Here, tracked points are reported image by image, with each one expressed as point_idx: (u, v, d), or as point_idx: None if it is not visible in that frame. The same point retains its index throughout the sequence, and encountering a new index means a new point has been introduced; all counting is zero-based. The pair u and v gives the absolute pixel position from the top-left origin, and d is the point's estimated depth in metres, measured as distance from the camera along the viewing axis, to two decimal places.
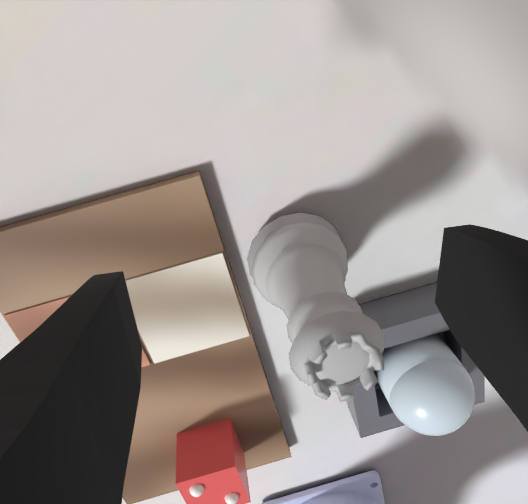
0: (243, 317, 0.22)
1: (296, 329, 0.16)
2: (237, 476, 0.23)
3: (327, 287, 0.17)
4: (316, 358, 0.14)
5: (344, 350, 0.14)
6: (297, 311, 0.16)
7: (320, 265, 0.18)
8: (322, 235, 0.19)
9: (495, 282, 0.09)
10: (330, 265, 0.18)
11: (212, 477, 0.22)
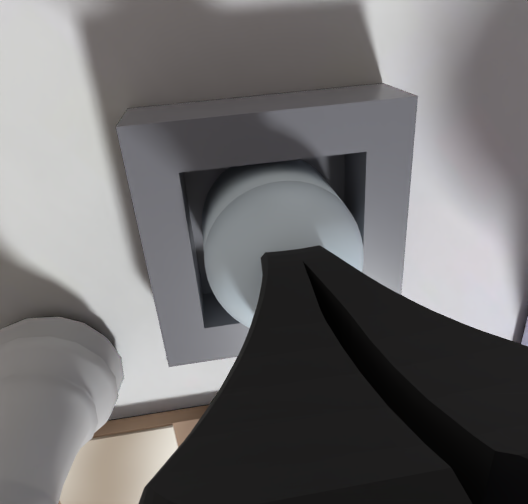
0: (142, 430, 0.17)
1: None
2: None
3: None
4: None
5: None
6: None
7: None
8: None
9: None
10: None
11: None
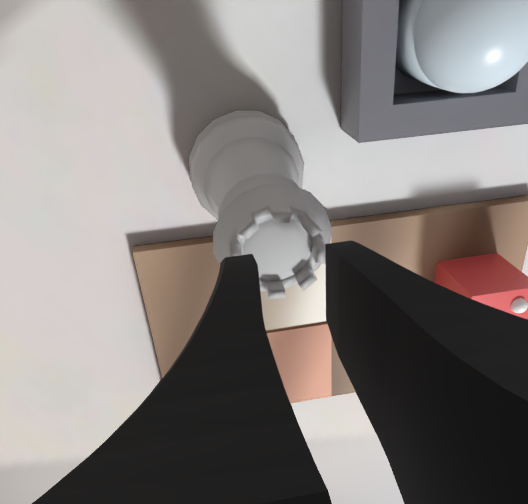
0: None
1: None
2: (488, 295, 0.19)
3: None
4: None
5: (253, 250, 0.12)
6: None
7: (218, 183, 0.15)
8: (204, 153, 0.16)
9: (356, 303, 0.08)
10: (225, 167, 0.15)
11: None
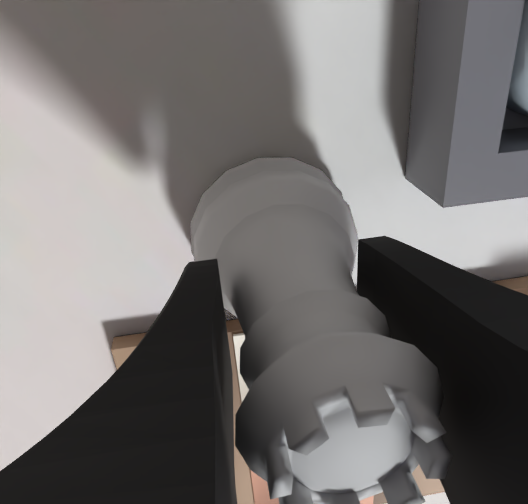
0: None
1: None
2: None
3: (248, 325, 0.09)
4: None
5: (312, 459, 0.06)
6: None
7: (237, 281, 0.10)
8: (213, 225, 0.11)
9: (395, 297, 0.08)
10: (246, 256, 0.10)
11: None
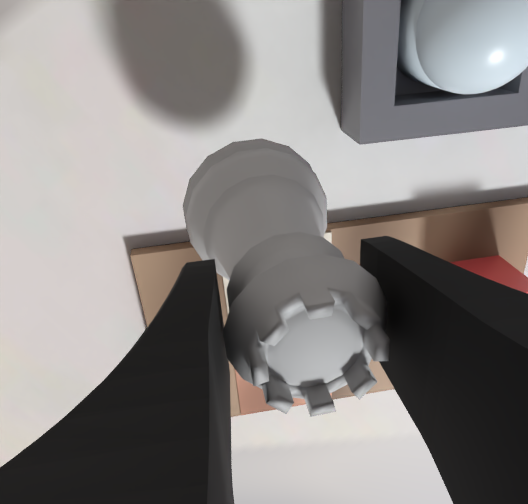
0: None
1: None
2: None
3: None
4: (280, 408, 0.08)
5: (283, 355, 0.08)
6: None
7: (222, 243, 0.12)
8: (200, 202, 0.13)
9: (397, 296, 0.09)
10: (229, 221, 0.12)
11: None
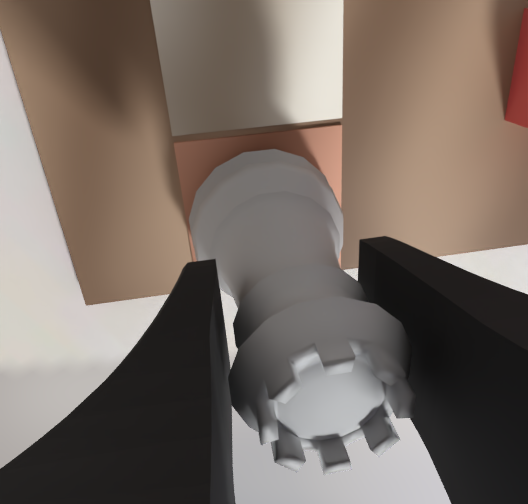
0: None
1: None
2: None
3: None
4: (291, 466, 0.07)
5: (295, 409, 0.07)
6: None
7: (230, 266, 0.11)
8: (207, 219, 0.12)
9: (396, 296, 0.09)
10: (237, 243, 0.11)
11: None
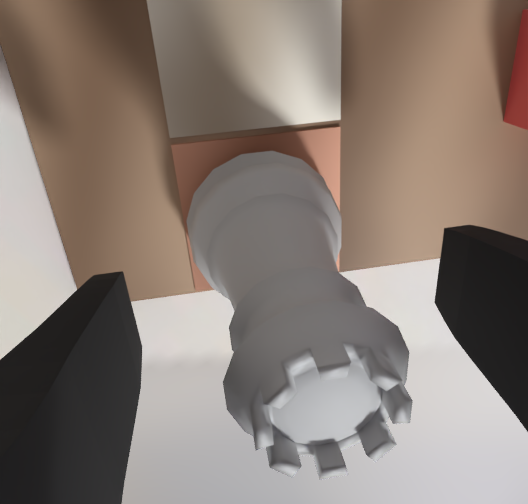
0: None
1: None
2: None
3: None
4: (286, 472, 0.07)
5: (290, 414, 0.07)
6: None
7: (227, 269, 0.11)
8: (204, 221, 0.12)
9: (495, 282, 0.09)
10: (234, 245, 0.11)
11: None
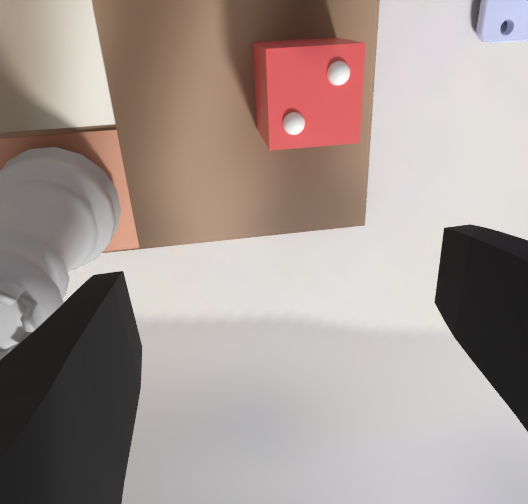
0: None
1: None
2: (291, 50, 0.13)
3: None
4: None
5: None
6: None
7: None
8: None
9: (495, 282, 0.09)
10: None
11: (277, 92, 0.14)
